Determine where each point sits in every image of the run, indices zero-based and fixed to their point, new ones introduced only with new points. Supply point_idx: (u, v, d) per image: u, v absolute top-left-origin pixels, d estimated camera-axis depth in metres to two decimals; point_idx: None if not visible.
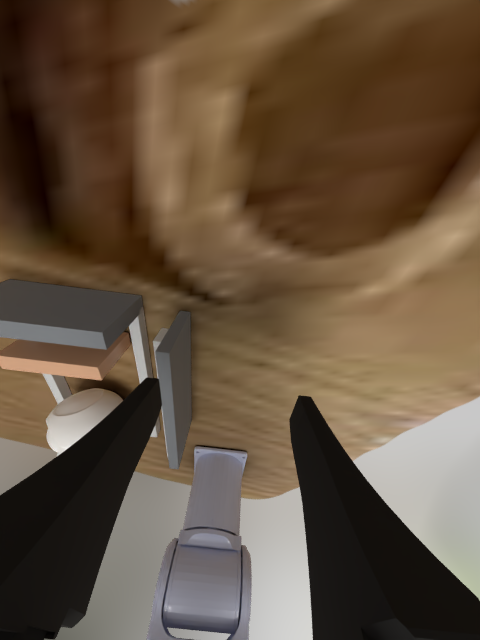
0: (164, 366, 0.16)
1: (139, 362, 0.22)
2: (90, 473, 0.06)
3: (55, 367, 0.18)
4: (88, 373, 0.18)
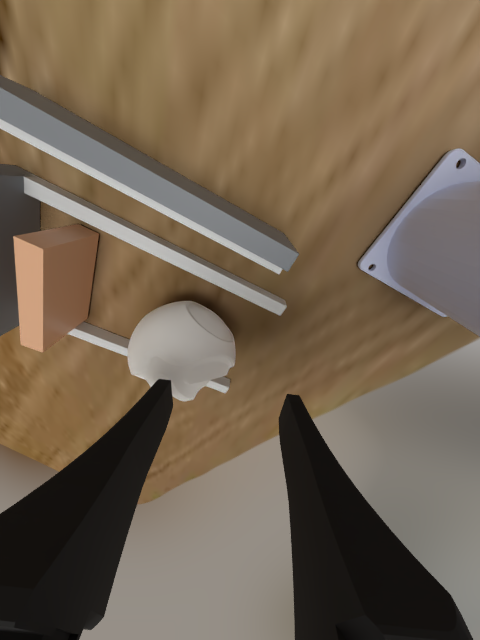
0: None
1: (113, 230, 0.15)
2: (110, 475, 0.06)
3: (28, 295, 0.13)
4: (30, 259, 0.12)
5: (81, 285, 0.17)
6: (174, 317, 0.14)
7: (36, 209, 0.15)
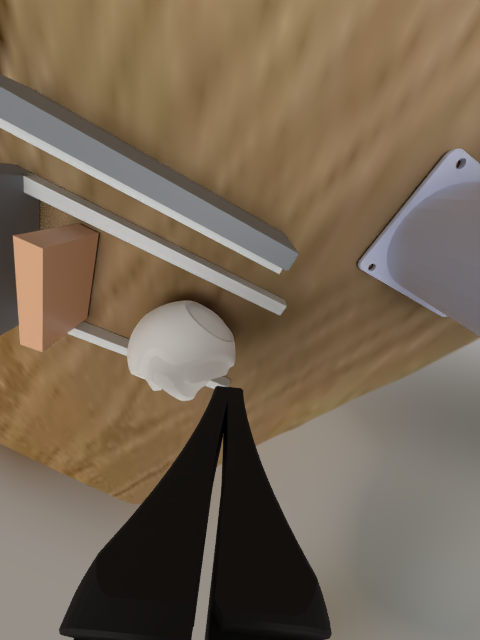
0: None
1: (113, 229, 0.15)
2: (209, 487, 0.06)
3: (27, 294, 0.13)
4: (30, 258, 0.12)
5: (81, 285, 0.17)
6: (174, 317, 0.14)
7: (36, 208, 0.15)
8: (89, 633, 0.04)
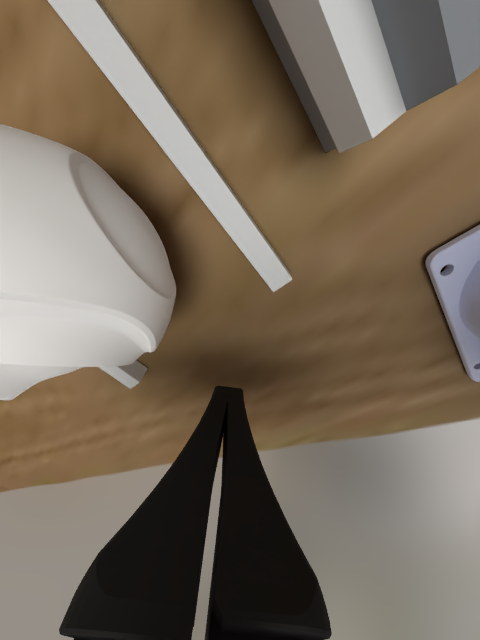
0: None
1: None
2: (210, 486, 0.06)
3: None
4: None
5: None
6: (5, 142, 0.04)
7: None
8: (89, 633, 0.04)
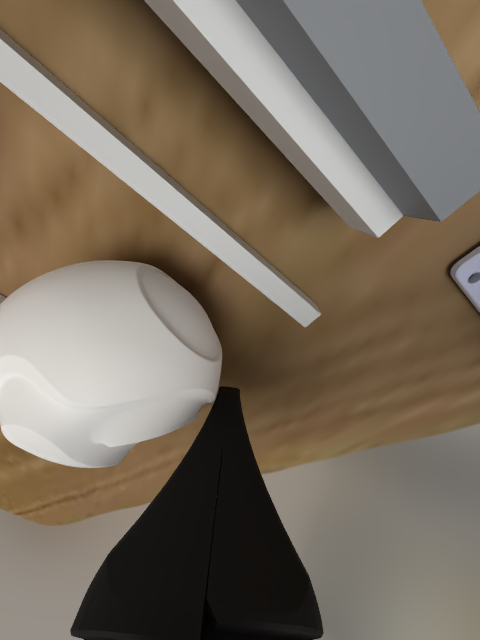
0: None
1: (1, 66, 0.06)
2: (217, 487, 0.06)
3: None
4: None
5: None
6: (100, 288, 0.06)
7: None
8: (102, 634, 0.04)
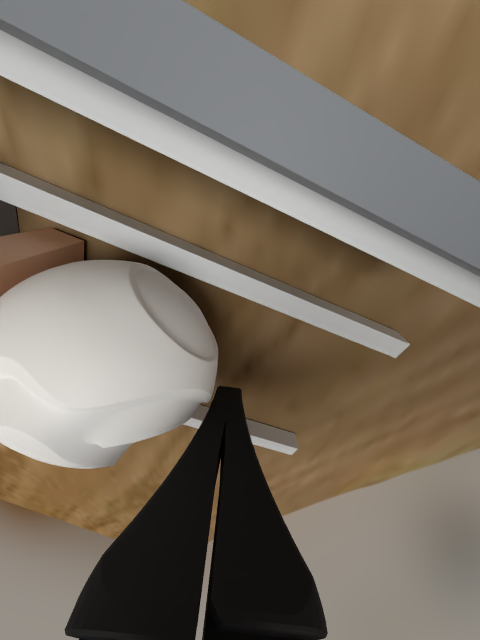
0: None
1: (134, 244, 0.09)
2: (213, 487, 0.06)
3: None
4: None
5: None
6: (91, 288, 0.06)
7: (11, 220, 0.10)
8: (95, 634, 0.04)
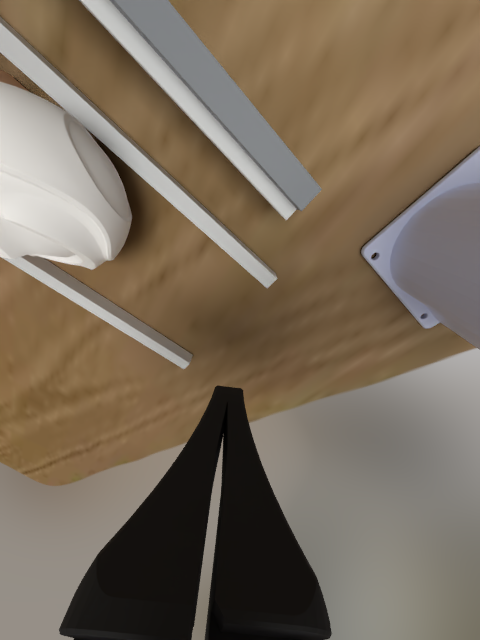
0: None
1: (82, 115, 0.11)
2: (210, 487, 0.06)
3: None
4: None
5: None
6: (30, 100, 0.08)
7: None
8: (89, 633, 0.04)
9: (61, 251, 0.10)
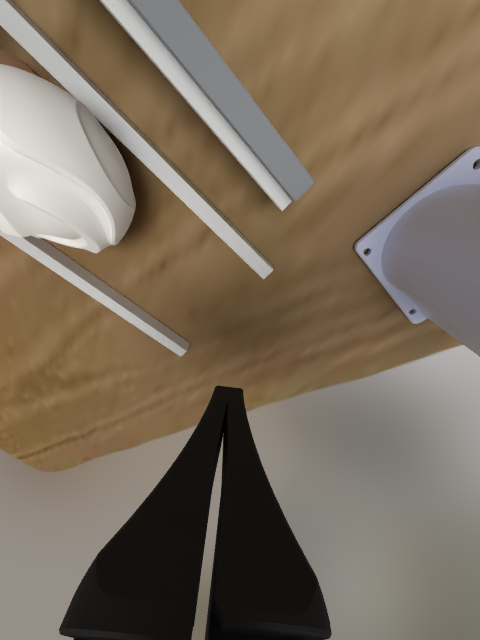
0: None
1: (92, 104, 0.12)
2: (210, 486, 0.06)
3: None
4: None
5: None
6: (45, 87, 0.08)
7: None
8: (89, 633, 0.04)
9: (68, 233, 0.11)
